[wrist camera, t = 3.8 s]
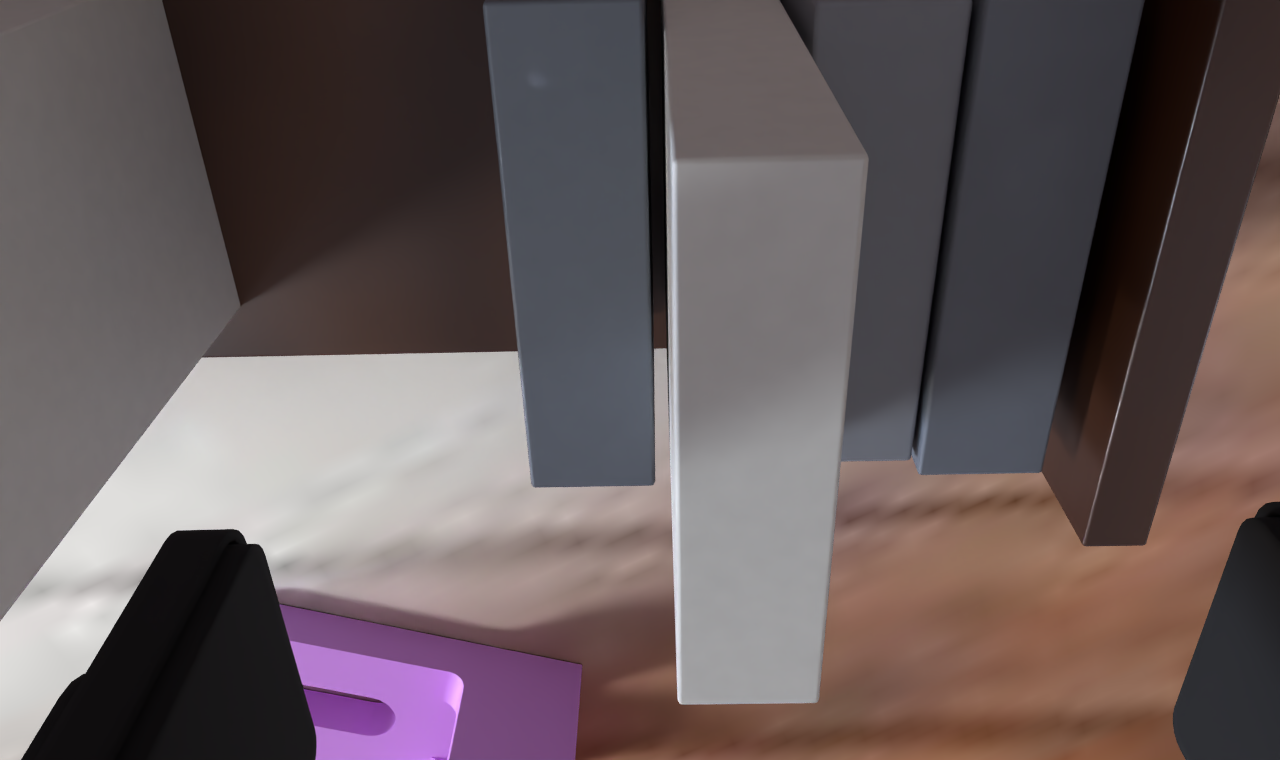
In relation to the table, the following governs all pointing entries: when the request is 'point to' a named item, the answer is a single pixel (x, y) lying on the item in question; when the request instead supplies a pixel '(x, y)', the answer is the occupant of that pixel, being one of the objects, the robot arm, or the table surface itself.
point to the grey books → (891, 233)
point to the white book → (754, 343)
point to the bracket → (430, 694)
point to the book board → (475, 227)
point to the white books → (93, 257)
